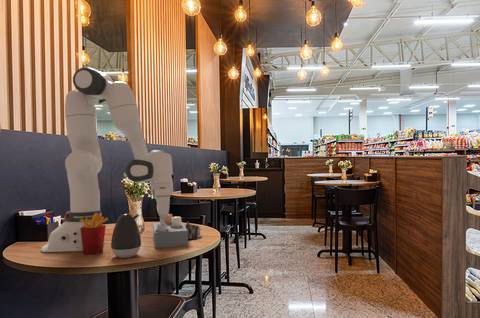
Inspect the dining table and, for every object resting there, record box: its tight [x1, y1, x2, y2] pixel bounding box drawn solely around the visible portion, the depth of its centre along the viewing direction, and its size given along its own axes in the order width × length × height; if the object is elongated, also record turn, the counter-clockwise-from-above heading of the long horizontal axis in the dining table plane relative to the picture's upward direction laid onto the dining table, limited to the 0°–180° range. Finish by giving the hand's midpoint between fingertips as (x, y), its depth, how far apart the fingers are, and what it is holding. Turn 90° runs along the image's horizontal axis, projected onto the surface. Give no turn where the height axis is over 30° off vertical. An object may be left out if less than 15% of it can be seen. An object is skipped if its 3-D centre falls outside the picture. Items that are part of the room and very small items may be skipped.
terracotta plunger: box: [165, 213, 173, 225], centre depth 151 cm, size 4×4×5 cm
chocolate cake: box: [185, 220, 202, 240], centre depth 150 cm, size 10×7×12 cm
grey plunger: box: [157, 223, 167, 232], centre depth 135 cm, size 4×4×5 cm
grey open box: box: [152, 221, 189, 249], centre depth 143 cm, size 13×23×6 cm, turn 16°
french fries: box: [80, 213, 109, 256], centre depth 125 cm, size 9×8×15 cm
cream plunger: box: [172, 216, 182, 228], centre depth 143 cm, size 4×4×5 cm
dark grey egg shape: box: [110, 213, 142, 259], centre depth 119 cm, size 10×10×15 cm
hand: (162, 224), depth 135 cm, fingers closed, pressing on grey plunger
